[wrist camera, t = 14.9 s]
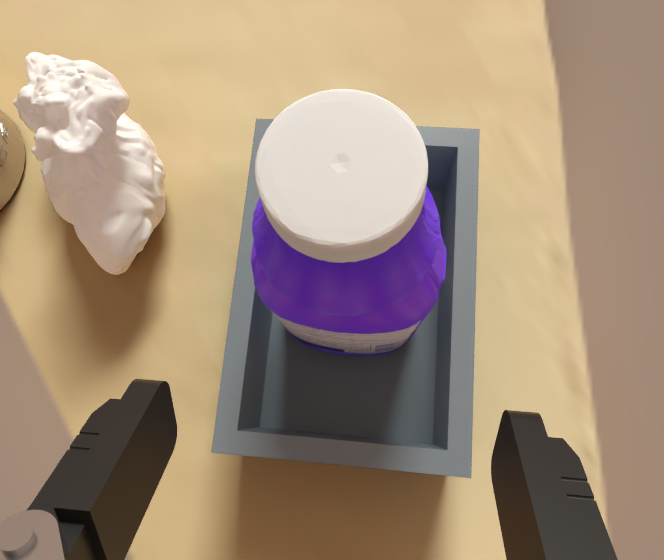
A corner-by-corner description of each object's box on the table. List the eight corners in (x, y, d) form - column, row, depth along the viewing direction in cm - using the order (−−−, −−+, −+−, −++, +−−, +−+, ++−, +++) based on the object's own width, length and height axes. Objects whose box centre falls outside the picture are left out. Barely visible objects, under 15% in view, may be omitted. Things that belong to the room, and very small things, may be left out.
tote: (242, 443, 29) (211, 452, 23) (275, 171, 32) (256, 118, 26) (448, 464, 28) (471, 478, 22) (458, 181, 31) (479, 129, 26)
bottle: (423, 262, 29) (501, 61, 12) (415, 365, 28) (491, 296, 11) (293, 251, 30) (201, 44, 13) (280, 351, 29) (158, 265, 12)
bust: (176, 284, 33) (244, 176, 25) (46, 314, 28) (76, 192, 20) (111, 133, 36) (152, -9, 28) (-18, 137, 31) (-15, -34, 23)
